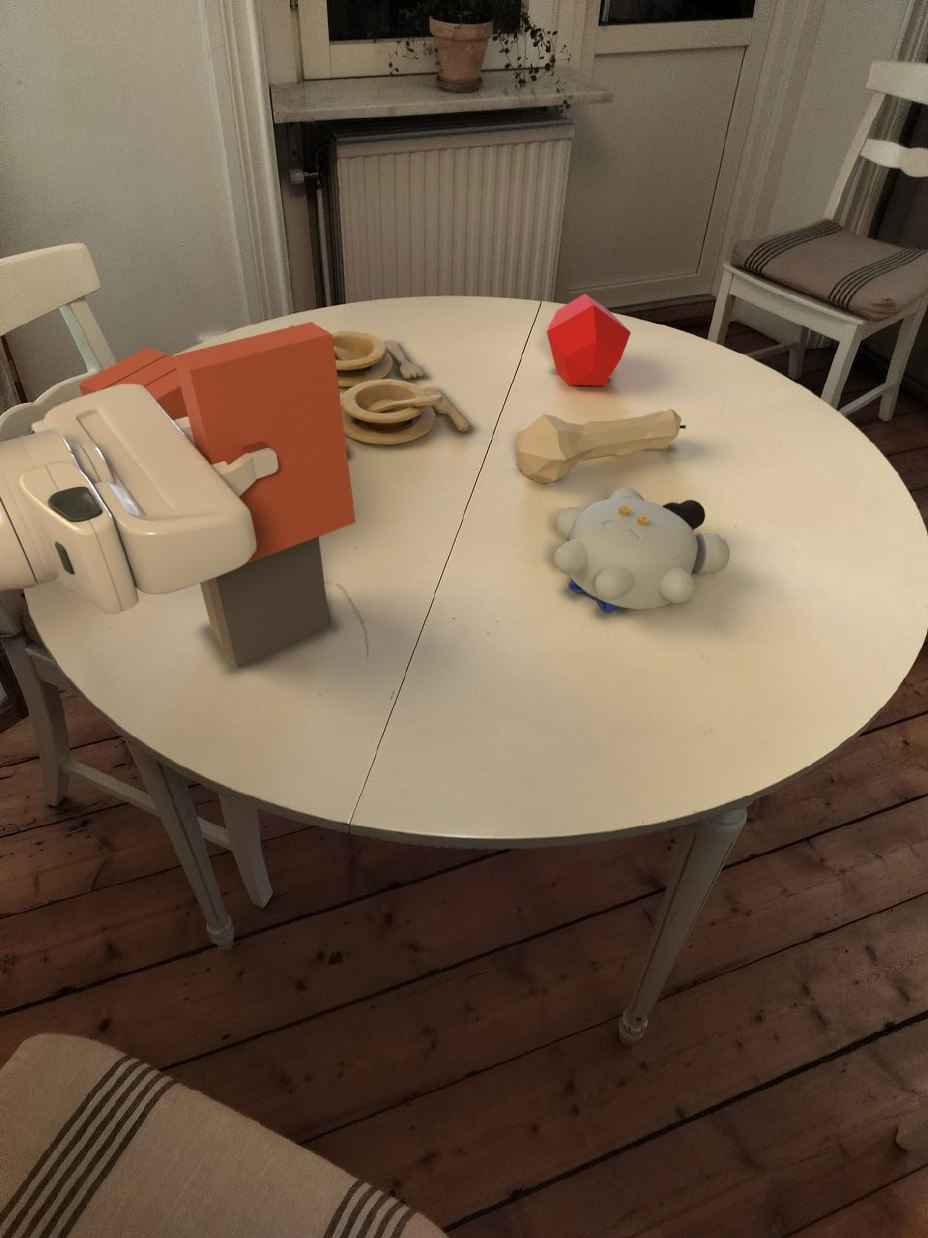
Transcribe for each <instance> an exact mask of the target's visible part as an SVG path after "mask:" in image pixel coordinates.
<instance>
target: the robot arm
mask: <svg viewBox="0 0 928 1238" xmlns="http://www.w3.org/2000/svg"><path fill="white" fill-rule="evenodd" d="M243 452H244V455H243V456H241V457H240V458H238V459H237V460H236V461H234V462H233V463H231V464H230V465H228V464H227V463H226V461H223V462H219V463H216V464H213V465H210V463H209V462H208V461H207V460H206V459H205V458H204V456H203V455H202V454H201V453H200V452H199V451H198V449H197V448H196V446H195V442H194V438H193V434H192V430H191V426H190V422H189V418H188V417H184V418H180V419H177V420H172V419H171V418H170V417H169V416H168V415H167V413H166V412H165V411H164V410H163V409H162V408H161V406H160V405H159V404H158V403H157V402H156V401H155V399H154V398H153V397H152V396H151V395H150V394H149V392H148V391H147V390H146V389H145V388H144V387H143V386H142V385H138V384H120V385H116V386H112V387H109V388H106V389H103V390H100V391H96V392H93V393H90V394H87V395H84V396H82V395H81V396H79V397H76V398H73V399H70V400H67V401H65V402H62V403H60V404H58V405H56V406H54V407H53V408H50V410H48V411H47V412H46V413H45V415H44V417H43V419H41V420H38V421H35V422H33V423H32V424H31V427H29V428H28V430H27V431H26V433H24V434H22V436H18V437H16V438H12V439H8V440H5V441H1V442H0V593H3V592H7V591H13V590H25V589H26V590H27V589H32V588H35V587H38V586H41V585H44V584H46V583H49V582H52V581H57V583H58V584H59V585H60V586H62V587H63V588H65V589H68V590H70V591H71V592H73V593H75V594H77V595H78V596H80V597H81V598H83V599H84V600H86V601H87V602H89V603H90V604H92V605H93V606H94V607H96V608H97V609H98V610H100V611H102V612H103V613H104V614H105V613H106V614H107V615H108V614H109V615H116V614H119V613H122V612H125V611H128V610H130V609H132V608H134V607H136V606H137V605H138V603H139V600H140V599H139V595H138V591H140V592H142V593H144V594H149V595H163V594H170V593H174V592H177V591H181V590H183V589H184V590H185V589H187V588H191V587H193V586H196V585H200V583H202V582H205V581H207V580H210V579H213V578H215V577H218V576H220V575H223V574H225V573H228V572H230V571H233V570H235V569H237V568H239V567H241V566H243V565H244V564H246V563H247V562H248V560H249V559H250V558H251V557H252V555H253V554H254V553H255V551H256V549H257V544H256V538H255V531H254V526H253V521H252V517H251V513H250V510H249V509H248V507H247V506H246V505H245V504H244V503H243V502H242V500H241V499H240V498H239V496H241V495H242V494H243V493H244V492H245V491H246V490H247V489H248V488H249V487H250V486H251V485H252V484H253V483H254V482H255V481H256V479H258V478H261V477H264V476H267V475H270V474H273V473H275V472H276V471H277V469H278V461H277V454H276V453H275V451H274V450H272V448H271V447H270V446H269V445H268V444H266V443H265V442H258V443H257V444H256V445H249V446H245V447H243ZM137 590H138V591H137Z"/></svg>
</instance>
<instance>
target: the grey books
mask: <svg viewBox="0 0 928 1238" xmlns="http://www.w3.org/2000/svg"><path fill="white" fill-rule="evenodd" d="M320 544H321V543H320V536H319V537H316V538H313V539H310V540H308V541H305V542H302V543H300V544H297V545H294V546H292V547H289V548H286V549H284V550H281V551H278V552H276V553H273V554H270V555H268V556H265V557H262V558H260V559H257V560H254V561H251V562H249V563H246V564H244V565H243V566H241V567H239V568H237V569H235V570H233V571H230V572H228V573H225V574H223V575H220V576H218V577H215V578H213V579H210V580H207V581H205V582H202V583H199V585H200V589H201V593H202V597H203V601H204V604H205V609H206V612H207V617H208V621H209V623H210V629H211V631H212V633H213V635H214V636H215V637H216V639H217V641H218V642H219V643H220V645H221V646H222V647H223V649H224V650H225V652H226V654H227V655H228V656H229V658H230V659H231V660H232V662H233V664H234V666H235V667H240V666H242V665H244V664H247V663H249V662H252V661H254V660H256V659H258V658H260V657H263V656H265V655H267V654H270V653H272V652H275V651H277V650H279V649H281V648H284V647H286V646H288V645H291V644H292V643H295V642H298V641H300V640H302V639H305V638H307V637H309V636H311V635H314V634H316V633H318V632H320V631H323V630H325V629H328V628H330V619H329V611H328V604H327V603H328V602H327V596H326V585H325V578H324V570H323V561H322V553H321V552H322V551H321V545H320Z"/></svg>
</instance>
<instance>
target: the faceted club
mask: <svg viewBox="0 0 928 1238" xmlns="http://www.w3.org/2000/svg"><path fill="white" fill-rule="evenodd" d="M681 423H682V417H681V416H680V415H679V414H678V413H677V412H676V411H675V410H674V409H672V408H667V409H665V410H658V411H655V412H652V413H648V414H646V415H642V416H637V417H630V418H622V419H617V420H615V419H614V420H604V421H603V420H602V421H585V422H584V423H583V424H581V423H572V422H567V421H565V420H563V419H561V418H559V417H557V416H556V415H550V414H541V415H538V416H535V417H532V418H530V419H529V420H528V421H527V422H526V423H525V424H524V425H523V426H522V427H521V428H520V429H518V431H517V434H516V438H515V442H514V452H515V453H514V454H515V457H516V458H515V459H516V464H515V465H516V467H518V468H519V469H520V470H521V472H522V473H523V474H524V475H525V476H526V477H527V478H530V479H532V480H533V481H535V482H538V483H539V484H542V485H543V484H547V483H552V482H556V481H558V480H560V479H561V478H564V477H565V476H566V475H568V473H570V472H571V470H572V469H573V468H574V467H575V466H576V465H578V463H579V462H580V461H585V460H590V459H597V458H603V457H608V456H609V457H610V456H615V455H617V456H621V457H624V456H627V455H630V454H633V453H636V452H640V451H655V452H656V451H658V452H660V451H661V452H663V451H664V452H665V451H666V450H667V449H668V448H669V445H670V444H671V443H672V442H673V441H674V440H675V439H676V438H677V437H678V435H679V432H680V429H684V430H685V429H686V428H687V425H685V424H683V425H682V424H681Z"/></svg>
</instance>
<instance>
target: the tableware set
mask: <svg viewBox="0 0 928 1238" xmlns="http://www.w3.org/2000/svg"><path fill="white" fill-rule="evenodd" d="M292 326H294V324H293V325H289V327H292ZM331 333H332V337H333V345H334V353H335V361H336V369H337V377H338V385H339V387H350V388H349V389H347V390H346V391H344V393H343V395H342V397H341V400H340V401H341V409H342V417H343V425H344V433H345V436H347V437H349V438H351V439H353V440H355V441H358V442H362V443H367V444H372V445H373V444H374V445H385V446H386V445H397V444H399V445H400V444H404V443H408V442H411V441H414V440H417V439H419V438H421V437H423V436H425V435H426V434H428V433H429V432H430V431H431V430H432V428H433V427H434V426H435V422H436V413H438V414H443V415H446V416H448V417H449V419H450V420H451V422H452V423H453V424H454V426H455V427H456V429H457V430H458V431H460V432H461V433H462V432H464V433H465V432H468V431H469V429H470V424H469V423H468V421H467V420H466V419H465V418H464V417H463V416H462V415H461V414H460V412H459V411H458V410H457V409H456V408H455V407H454V406H453V405H452V404H451V403H450V401H449V400H448V399H447V398H446V397H445V396H444V395H443V393H441V391H439V390H438V388H437V387H436V386H433V387H428V388H426V389H425V390H424V389H423V388H421V387H420V386H419V385H416V384H414V383H412V382H408V381H405V380H407V379H411V378H415V379H416V378H418V377H420V378H421V377H424V375H425V374H424V371H422V370H421V368H420V367H419V366H418V365H417V364H414V363H411V362H409V361H408V359H407V357H406V355H405V354H404V353H403V351H402V350H401V348H400V347H399V345H398V344H397V342H396V341H395V340H386V341H385V342H384V340H382V339H381V338H380V337H378V336H377V335H374V334H372V333H368V332H363V331H358V330H357V331H356V330H355V331H354V330H339V331H333V332H331ZM392 357H393V358H394V359H395V360H396V362H397V363H398V364H399V365H400V366H399V373H400V374H401V376H402V377H403V378H404V379H405V380H400V379H392V378H391V379H389V378H385V377H386V376H388V374H390V372H391V371H392V368H393V365H394V361H393V358H392ZM435 412H436V413H435Z"/></svg>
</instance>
